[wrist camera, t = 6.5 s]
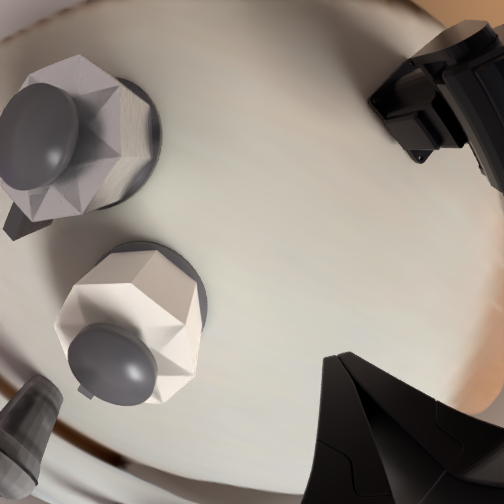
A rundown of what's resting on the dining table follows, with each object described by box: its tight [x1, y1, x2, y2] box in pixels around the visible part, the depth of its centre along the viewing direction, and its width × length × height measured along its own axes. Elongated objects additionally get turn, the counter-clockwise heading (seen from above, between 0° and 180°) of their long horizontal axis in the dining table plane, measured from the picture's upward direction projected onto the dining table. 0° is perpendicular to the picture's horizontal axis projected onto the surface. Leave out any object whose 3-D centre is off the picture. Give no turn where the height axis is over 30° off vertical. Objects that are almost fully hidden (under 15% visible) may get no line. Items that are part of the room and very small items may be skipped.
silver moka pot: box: [0, 54, 162, 241], centre depth 14 cm, size 12×9×6 cm
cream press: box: [54, 241, 207, 404], centre depth 18 cm, size 12×9×6 cm
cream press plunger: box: [68, 323, 158, 406], centre depth 15 cm, size 5×5×6 cm
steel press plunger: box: [0, 83, 79, 191], centre depth 12 cm, size 5×5×6 cm
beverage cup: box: [0, 375, 63, 500], centre depth 14 cm, size 7×7×20 cm
